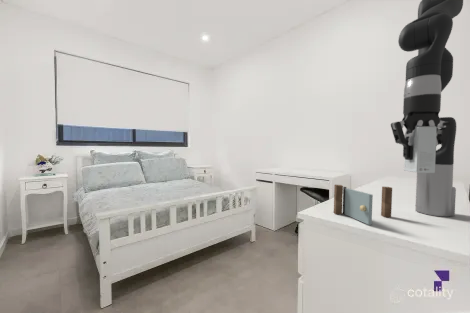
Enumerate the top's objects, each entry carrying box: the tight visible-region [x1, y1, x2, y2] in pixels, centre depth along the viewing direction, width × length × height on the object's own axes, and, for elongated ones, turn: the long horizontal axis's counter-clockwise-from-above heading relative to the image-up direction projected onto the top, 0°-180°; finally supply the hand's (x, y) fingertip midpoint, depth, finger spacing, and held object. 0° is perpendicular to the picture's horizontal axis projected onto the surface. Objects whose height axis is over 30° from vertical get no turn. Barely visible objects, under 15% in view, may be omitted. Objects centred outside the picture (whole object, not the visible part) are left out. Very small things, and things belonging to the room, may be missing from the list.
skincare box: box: [403, 126, 437, 173], centre depth 57 cm, size 6×4×12 cm
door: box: [344, 187, 374, 226], centre depth 65 cm, size 10×2×8 cm, turn 8°
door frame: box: [333, 184, 393, 218], centre depth 70 cm, size 17×2×10 cm, turn 82°
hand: (419, 159), depth 58 cm, fingers closed on skincare box, 4 cm apart
